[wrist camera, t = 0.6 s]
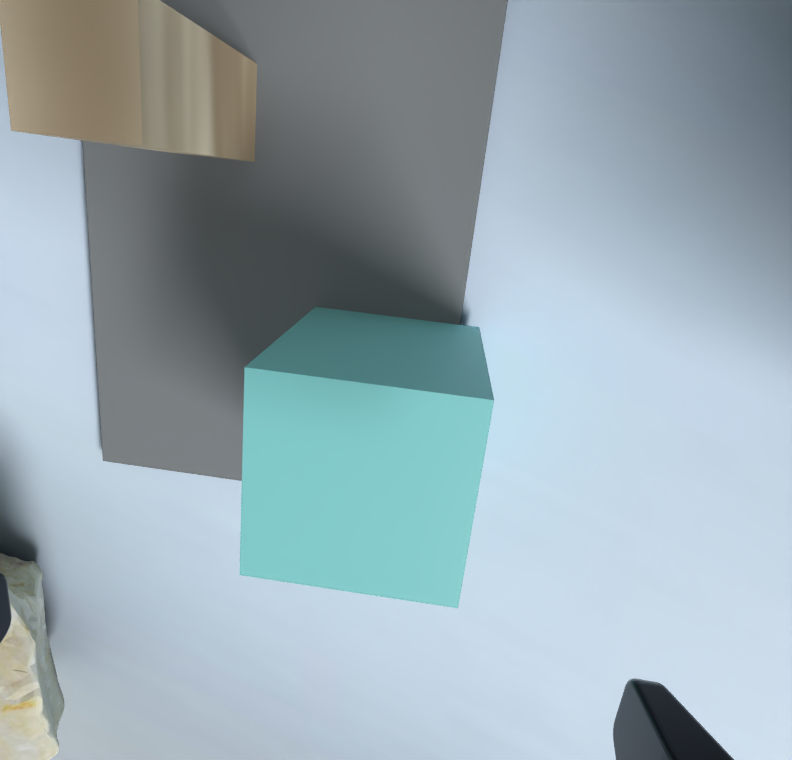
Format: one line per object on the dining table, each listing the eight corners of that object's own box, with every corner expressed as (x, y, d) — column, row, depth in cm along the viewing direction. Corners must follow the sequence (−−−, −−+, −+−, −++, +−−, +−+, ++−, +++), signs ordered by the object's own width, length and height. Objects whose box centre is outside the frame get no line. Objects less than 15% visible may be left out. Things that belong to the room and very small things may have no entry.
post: (257, 64, 16) (137, -14, 10) (254, 162, 17) (142, 145, 11) (167, 54, 16) (-5, -29, 10) (169, 152, 17) (10, 130, 11)
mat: (581, -506, 12) (585, -528, 12) (433, 502, 20) (433, 508, 20) (50, -531, 13) (38, -553, 13) (109, 455, 21) (103, 460, 21)
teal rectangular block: (479, 327, 18) (493, 400, 12) (456, 475, 20) (457, 607, 13) (315, 306, 18) (244, 367, 12) (306, 454, 20) (239, 574, 14)
